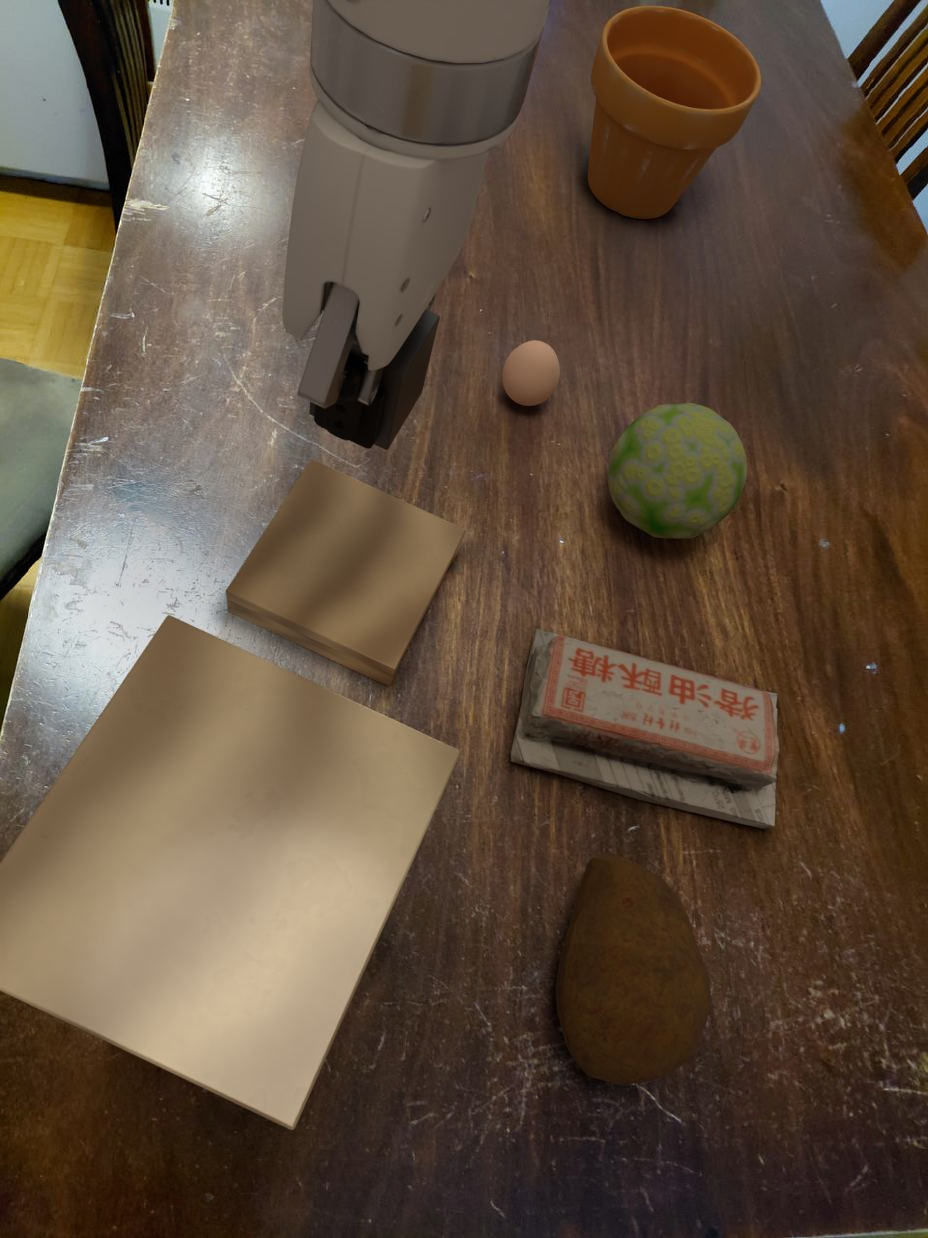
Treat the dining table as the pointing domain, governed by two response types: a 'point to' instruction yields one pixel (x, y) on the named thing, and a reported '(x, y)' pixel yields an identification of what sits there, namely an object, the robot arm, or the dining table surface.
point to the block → (401, 377)
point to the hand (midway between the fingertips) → (367, 395)
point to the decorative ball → (677, 470)
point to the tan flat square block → (345, 571)
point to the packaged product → (649, 730)
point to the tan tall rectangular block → (218, 868)
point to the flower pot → (663, 105)
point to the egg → (531, 373)
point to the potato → (630, 976)
